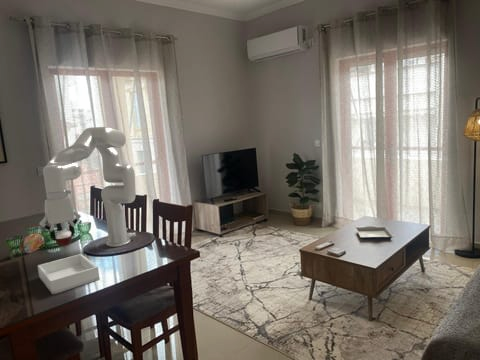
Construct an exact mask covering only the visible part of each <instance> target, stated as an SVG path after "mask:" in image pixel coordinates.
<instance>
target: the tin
mask: <svg viewBox="0 0 480 360" xmlns="http://www.w3.org/2000/svg"><path fill="white" fill-rule="evenodd" d="M45 242H46V236H45V234H43V233H42V232H35V233H32V234H30V235H28V236H26V237H23V238H22V239H21V241H20V243H19V248H20V251H21V252H22V253H24V254H31V253H34V252H35V251H38V250H40V248H39V247H40V246H41V245H42V244H44V245H45V244H46V243H45Z"/></svg>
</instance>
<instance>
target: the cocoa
mask: <svg viewBox="0 0 480 360" xmlns="http://www.w3.org/2000/svg"><path fill="white" fill-rule="evenodd" d="M55 226H56V227H57V233H55V237H56V240H55V242H56V245H58V246H59V247H66V246H68V245H70V244H71V242H72V239H73V236H72V235H71V231H70V230H69V228H63V226H62V223H58V224H55Z"/></svg>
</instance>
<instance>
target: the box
mask: <svg viewBox="0 0 480 360" xmlns="http://www.w3.org/2000/svg"><path fill="white" fill-rule="evenodd" d="M37 271H38V277H39V279H40V280H41V282H42V283H43V284H44V286H45V287H46V288H47V290H48V291H49V293H51V295H56V294H60V293H62V292H65V291H68V290H72V289H74V288H77V287H80V286H84V285H88V284H89V283H93V282H97V281H99V280H100V271H99V266H97V265H96V264H95V263H94V262H92V261H91V260H90V259H88V258H87V257H86V256H85V255H84V254H82V253H79V254H75V255H71V256H68V257H65V258H59V259H55V260H53V261H50V262H49V261H48V262H45V263H41V264H38V265H37Z"/></svg>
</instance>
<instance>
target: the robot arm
mask: <svg viewBox="0 0 480 360" xmlns="http://www.w3.org/2000/svg"><path fill="white" fill-rule="evenodd" d="M126 140H127V139H126V136H125V133H124V132H123V131H122V130H120V129H119V130H118V129H115V128H112V127H109V126H99V127H98V126H97V127H96V126H95V127H93V126H92V127H88V128H86V129H84V130H83V131H82V132H81V134H80V135H79V136H78V138H77V139H76V140H75V141H74V142H73V144H71V145H70V146H68V147H66V148H64V149H62V150H61V151H58V152H57V153H56V154H54V155H53V156H52V157H51V159H50V160H49V161H48V162H47V164H46V166H44V167H43V168H42V171H43V172H42V173H43V179H44V180H43V181H44V187H45V194H46V199H45V200H44V217H43V218H42V220H41V221H39V222H38V223H39V226H41V227H42V228H44V229H45V230H48V231H49V237H50V239H52V240H53V241H55V240H56V237H55V235H56V231H55V230H54V228H55V226H56V224H58V223H61V224H62V223H66V222H67V223H68V224H69V225H68V230H70V231H71V235H72V237H74V236H75V235H74V234H75V233H76V232H75V225H76V224H77V223H78V221H79V220H80V219H81V214H79V213H78V212H76V211H74V208H73V204H72V200H71V198H70V196H69V195H71V194H72V191H71V190H68V189H67V183H66V181H73V180H77V179H79V177H80V176H81V175H82V167H81V165H79V162H81V161H84V160H86V159H88V158H89V157H90V156H91V155H92V153H93V152H94V150H95V149H97V150H98V152H99V154H100V156H101V160H102V175H103V181H105V182H106V183H110V184H111V185H106V186H104V187H103V188H102V189H101V191H100V195H101V200H102V202H103V206H104V212H105V220H106V229H107V236H108V237H107V238H108V240H107V241H106V242H105V245H106V246H107V247H112V248H113V247H114V248H115V247H121V246H125V245H127V244H128V245H129V244H130V242H131V237H132V238H133V237H136V236H137V234H136V231H135V232H127V231H128V230H127V223H126V222H127V221H126V215H125V208H124V207H123V206H122V204H130V203H131V204H132V203H133V202H134V201H135V199H136V193H137V191H136V190H137V189H136V176H135V169H134V168H133V166H132V165H131V164H127V163H126V164H123V163H122V164H121V162H120V155H119V153H118V151H117V149H119V148H123V147H124V146H125V144H126ZM113 183H115V185H112V184H113ZM116 183H117V185H116ZM118 183H119V185H118ZM122 183H123V185H122ZM120 184H121V185H120ZM46 223H48V225H47V224H46ZM55 242H56V241H55Z"/></svg>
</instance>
